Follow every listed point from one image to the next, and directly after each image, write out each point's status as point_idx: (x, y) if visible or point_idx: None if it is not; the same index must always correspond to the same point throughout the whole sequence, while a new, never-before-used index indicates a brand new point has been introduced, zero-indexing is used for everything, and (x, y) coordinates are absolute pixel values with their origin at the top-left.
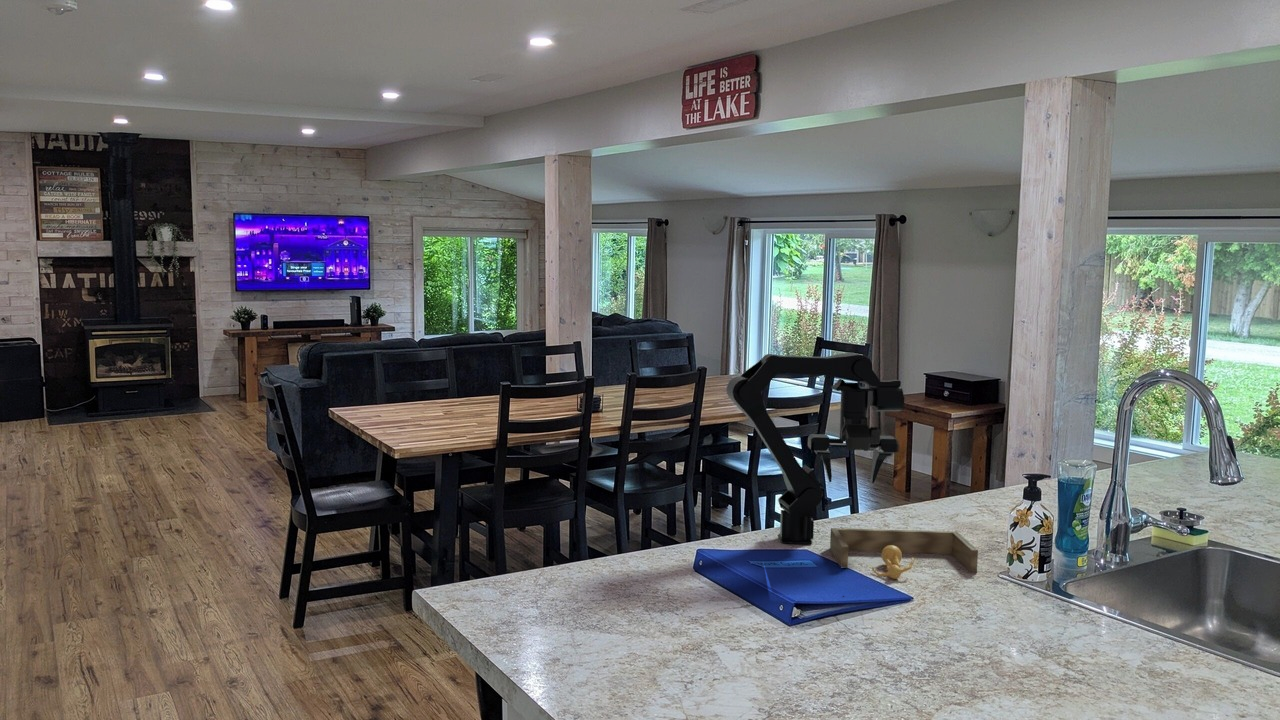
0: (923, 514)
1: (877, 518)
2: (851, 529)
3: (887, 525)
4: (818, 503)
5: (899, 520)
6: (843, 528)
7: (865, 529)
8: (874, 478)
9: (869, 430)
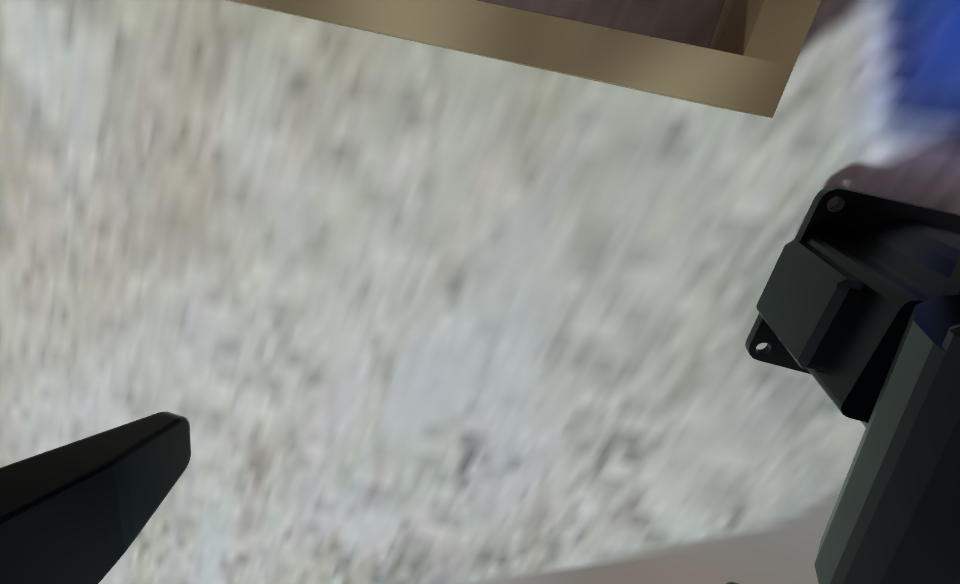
0: None
1: (265, 550)
2: (613, 52)
3: (251, 461)
4: (929, 306)
5: (188, 508)
6: (666, 92)
7: (496, 41)
8: (109, 439)
9: None
